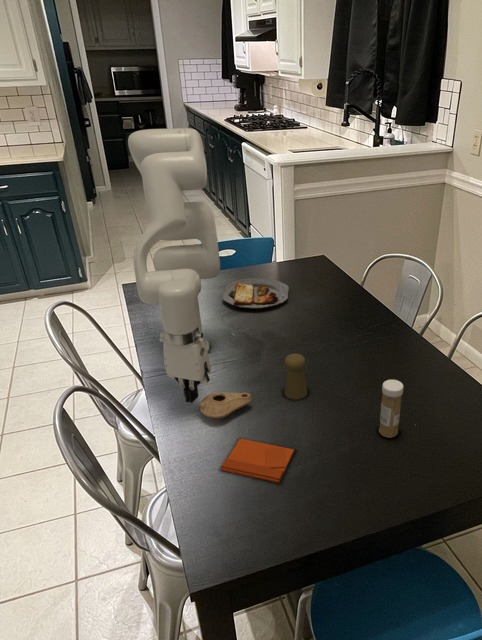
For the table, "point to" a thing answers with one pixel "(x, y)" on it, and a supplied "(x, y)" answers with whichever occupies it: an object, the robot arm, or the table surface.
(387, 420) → the sprinkles bottle
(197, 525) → the table surface
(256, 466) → the rust cloth
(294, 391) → the cork
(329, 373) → the table surface
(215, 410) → the pottery oil lamp
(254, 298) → the food plate
